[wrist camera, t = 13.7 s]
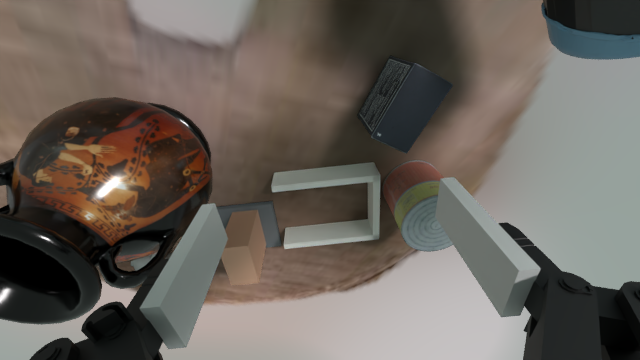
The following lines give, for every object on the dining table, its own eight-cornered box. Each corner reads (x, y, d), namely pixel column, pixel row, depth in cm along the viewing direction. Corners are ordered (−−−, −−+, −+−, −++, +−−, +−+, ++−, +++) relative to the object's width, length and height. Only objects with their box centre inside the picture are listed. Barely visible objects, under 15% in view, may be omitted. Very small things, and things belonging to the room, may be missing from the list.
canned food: (442, 200, 55) (475, 240, 44) (388, 215, 56) (407, 258, 45) (436, 152, 49) (471, 185, 39) (376, 171, 50) (395, 208, 40)
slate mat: (272, 200, 53) (271, 203, 52) (281, 242, 58) (281, 245, 57) (216, 206, 53) (215, 209, 52) (231, 247, 58) (230, 251, 57)
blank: (257, 209, 52) (248, 245, 44) (266, 243, 57) (259, 282, 48) (232, 212, 52) (217, 248, 44) (242, 246, 57) (231, 285, 48)
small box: (387, 131, 47) (407, 156, 38) (355, 116, 45) (368, 138, 36) (424, 73, 42) (456, 85, 33) (389, 53, 41) (413, 61, 31)
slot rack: (373, 162, 49) (380, 174, 45) (373, 222, 57) (379, 239, 52) (274, 172, 50) (271, 186, 45) (286, 232, 57) (284, 249, 52)
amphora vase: (82, 165, 47) (-156, 311, 23) (114, 54, 39) (-207, 96, 14) (200, 217, 54) (113, 373, 29) (248, 131, 46) (183, 250, 21)
